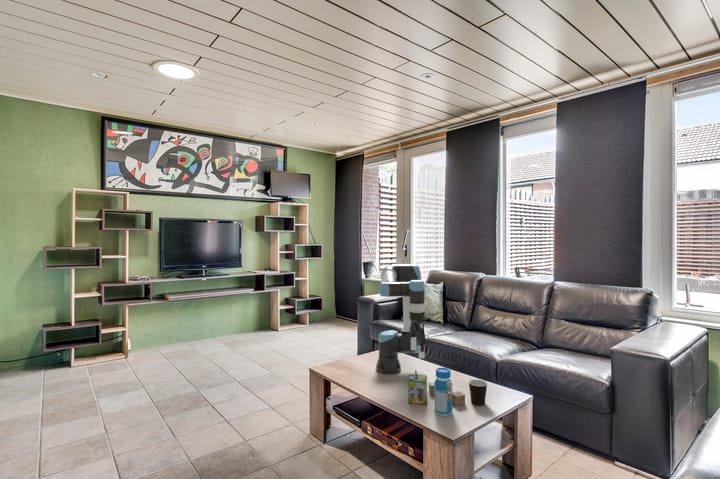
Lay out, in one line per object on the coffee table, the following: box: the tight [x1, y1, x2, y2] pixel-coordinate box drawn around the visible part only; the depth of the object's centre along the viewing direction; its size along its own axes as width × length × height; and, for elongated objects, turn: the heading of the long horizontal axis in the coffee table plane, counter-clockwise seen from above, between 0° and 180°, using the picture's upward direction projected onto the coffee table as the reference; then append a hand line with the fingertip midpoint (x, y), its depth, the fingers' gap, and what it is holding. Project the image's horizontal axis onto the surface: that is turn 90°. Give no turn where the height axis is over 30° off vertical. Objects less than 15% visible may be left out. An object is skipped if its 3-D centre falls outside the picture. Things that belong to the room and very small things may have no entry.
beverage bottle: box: [434, 367, 454, 417], centre depth 180 cm, size 8×8×20 cm
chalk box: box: [407, 369, 428, 405], centre depth 193 cm, size 9×9×15 cm
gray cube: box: [428, 381, 435, 396], centre depth 202 cm, size 5×5×5 cm
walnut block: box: [452, 390, 466, 408], centre depth 189 cm, size 5×5×5 cm
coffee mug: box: [468, 379, 488, 407], centre depth 191 cm, size 12×9×10 cm
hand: (417, 353), depth 193 cm, fingers open, 13 cm apart
